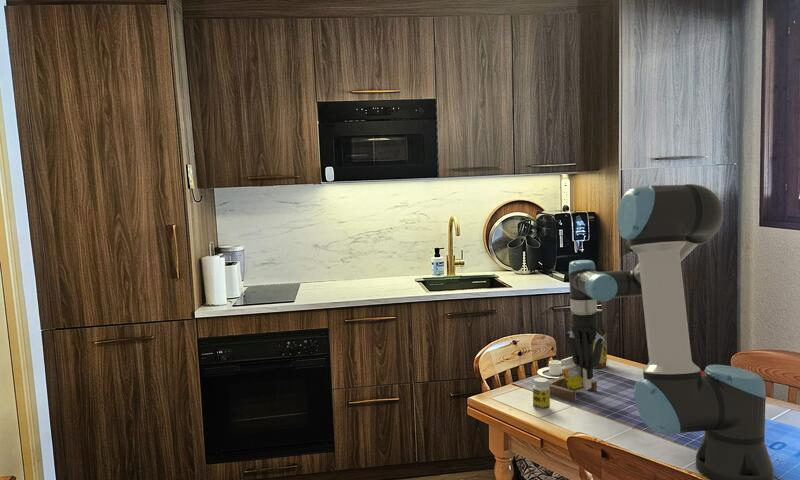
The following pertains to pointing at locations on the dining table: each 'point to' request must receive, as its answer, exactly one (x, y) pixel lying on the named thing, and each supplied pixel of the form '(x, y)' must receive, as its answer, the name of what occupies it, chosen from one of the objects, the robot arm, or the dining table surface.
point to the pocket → (563, 393)
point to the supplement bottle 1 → (541, 394)
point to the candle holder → (552, 369)
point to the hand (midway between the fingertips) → (587, 388)
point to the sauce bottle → (603, 333)
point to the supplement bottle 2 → (572, 375)
